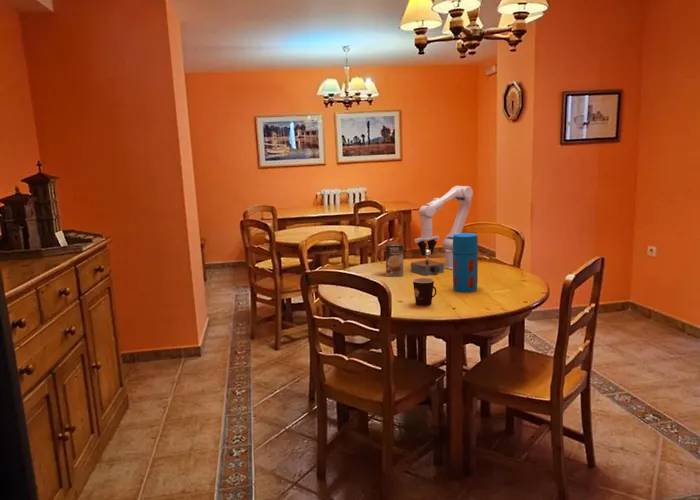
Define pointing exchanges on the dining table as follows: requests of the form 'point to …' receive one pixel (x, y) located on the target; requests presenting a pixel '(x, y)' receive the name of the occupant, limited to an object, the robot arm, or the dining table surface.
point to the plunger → (427, 252)
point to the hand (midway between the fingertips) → (427, 255)
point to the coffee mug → (423, 291)
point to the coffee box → (394, 259)
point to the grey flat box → (427, 267)
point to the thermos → (465, 262)
